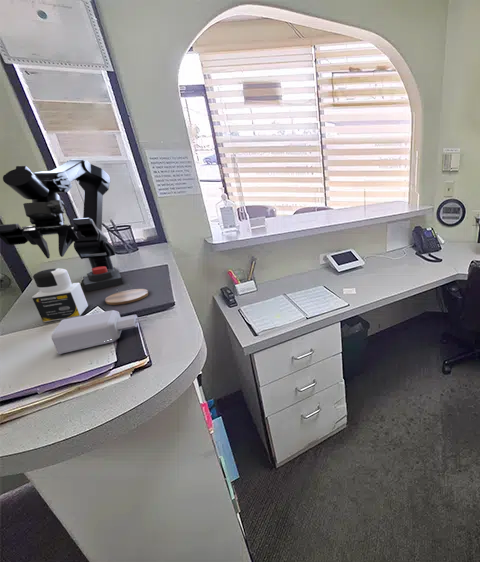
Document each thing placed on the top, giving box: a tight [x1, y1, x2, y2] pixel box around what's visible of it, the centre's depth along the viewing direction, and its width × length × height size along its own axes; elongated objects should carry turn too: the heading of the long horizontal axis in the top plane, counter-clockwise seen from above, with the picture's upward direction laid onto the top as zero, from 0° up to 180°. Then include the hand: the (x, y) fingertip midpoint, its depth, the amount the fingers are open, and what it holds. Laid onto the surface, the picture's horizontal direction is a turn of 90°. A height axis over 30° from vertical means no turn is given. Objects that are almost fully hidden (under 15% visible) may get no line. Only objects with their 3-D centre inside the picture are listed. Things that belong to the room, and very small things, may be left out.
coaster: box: [104, 288, 150, 306], centre depth 90 cm, size 10×10×1 cm
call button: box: [91, 266, 108, 274], centre depth 99 cm, size 4×4×2 cm
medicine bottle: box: [31, 267, 89, 323], centre depth 78 cm, size 7×7×12 cm
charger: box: [51, 309, 148, 355], centre depth 69 cm, size 5×9×15 cm
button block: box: [82, 269, 124, 292], centre depth 100 cm, size 10×9×4 cm
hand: (54, 256), depth 82 cm, fingers closed
